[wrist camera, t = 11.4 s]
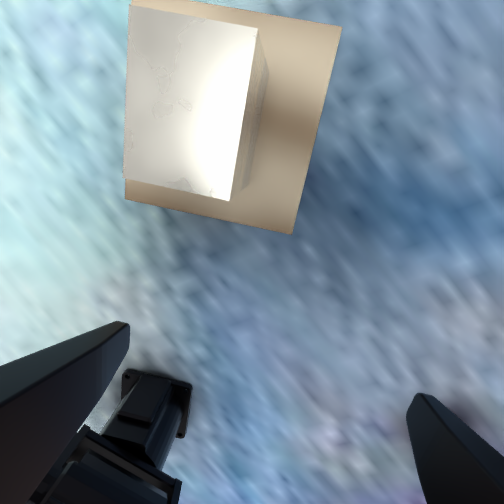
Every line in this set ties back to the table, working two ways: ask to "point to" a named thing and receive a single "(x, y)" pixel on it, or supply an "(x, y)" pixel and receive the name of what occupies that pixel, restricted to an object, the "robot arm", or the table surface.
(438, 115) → the table surface
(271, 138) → the thin beige square tile
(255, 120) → the block
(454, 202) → the table surface
